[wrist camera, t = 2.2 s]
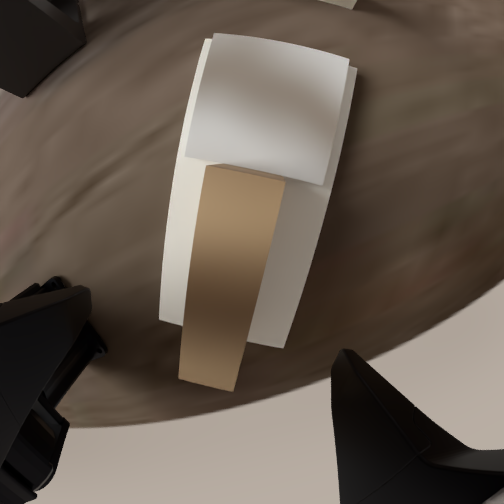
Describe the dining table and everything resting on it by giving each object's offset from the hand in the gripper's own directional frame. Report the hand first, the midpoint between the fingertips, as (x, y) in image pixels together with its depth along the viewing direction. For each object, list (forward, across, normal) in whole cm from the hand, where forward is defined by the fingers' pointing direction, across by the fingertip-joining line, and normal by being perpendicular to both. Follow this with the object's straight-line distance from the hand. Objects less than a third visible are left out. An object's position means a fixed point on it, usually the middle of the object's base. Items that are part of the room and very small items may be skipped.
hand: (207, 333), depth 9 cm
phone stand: (+6, +16, -14) cm, 22 cm away
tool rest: (+6, 0, -4) cm, 7 cm away
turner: (+5, 0, -4) cm, 6 cm away
